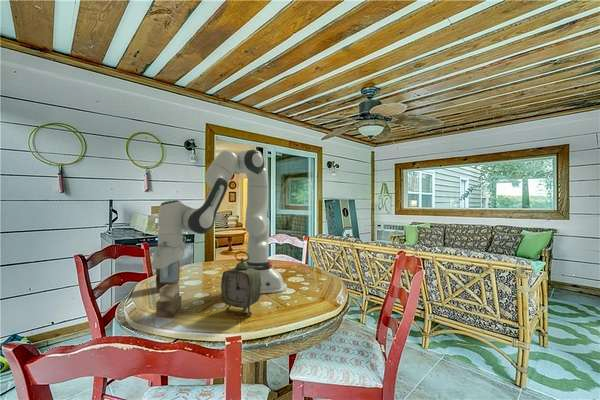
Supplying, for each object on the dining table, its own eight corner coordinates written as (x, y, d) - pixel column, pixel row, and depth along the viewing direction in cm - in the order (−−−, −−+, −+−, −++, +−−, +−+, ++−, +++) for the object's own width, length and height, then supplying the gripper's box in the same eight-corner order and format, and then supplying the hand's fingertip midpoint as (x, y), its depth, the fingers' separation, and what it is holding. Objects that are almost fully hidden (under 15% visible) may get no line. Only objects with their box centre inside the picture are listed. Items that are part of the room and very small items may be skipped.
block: (180, 285, 150) (181, 248, 150) (173, 290, 143) (174, 251, 143) (161, 285, 151) (161, 248, 151) (153, 290, 143) (153, 250, 143)
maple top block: (179, 296, 117) (179, 284, 117) (173, 301, 111) (173, 288, 111) (166, 296, 117) (166, 284, 117) (159, 301, 111) (159, 288, 111)
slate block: (178, 278, 117) (178, 261, 116) (172, 282, 112) (172, 264, 111) (165, 278, 116) (166, 261, 116) (160, 282, 111) (160, 264, 111)
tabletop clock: (221, 312, 115) (221, 251, 115) (234, 305, 123) (235, 248, 123) (250, 318, 109) (251, 254, 109) (263, 310, 118) (263, 250, 118)
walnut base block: (181, 310, 117) (181, 296, 117) (174, 317, 110) (174, 302, 110) (164, 310, 117) (164, 296, 117) (156, 317, 110) (156, 302, 110)
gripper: (165, 244, 104) (165, 282, 104) (187, 237, 124) (187, 268, 124) (148, 244, 104) (148, 282, 104) (173, 237, 124) (172, 268, 124)
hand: (169, 274), depth 114 cm, fingers closed on slate block, 5 cm apart
